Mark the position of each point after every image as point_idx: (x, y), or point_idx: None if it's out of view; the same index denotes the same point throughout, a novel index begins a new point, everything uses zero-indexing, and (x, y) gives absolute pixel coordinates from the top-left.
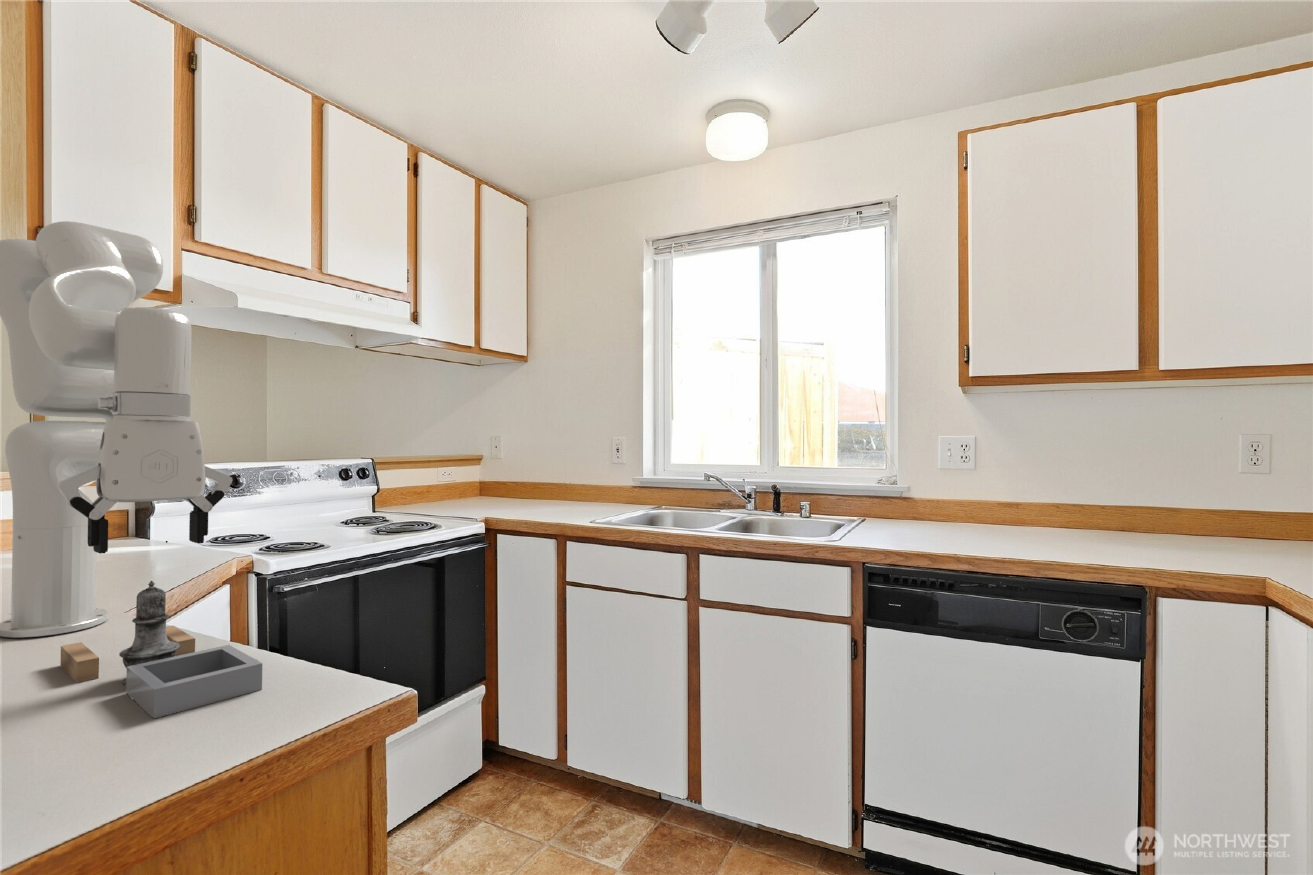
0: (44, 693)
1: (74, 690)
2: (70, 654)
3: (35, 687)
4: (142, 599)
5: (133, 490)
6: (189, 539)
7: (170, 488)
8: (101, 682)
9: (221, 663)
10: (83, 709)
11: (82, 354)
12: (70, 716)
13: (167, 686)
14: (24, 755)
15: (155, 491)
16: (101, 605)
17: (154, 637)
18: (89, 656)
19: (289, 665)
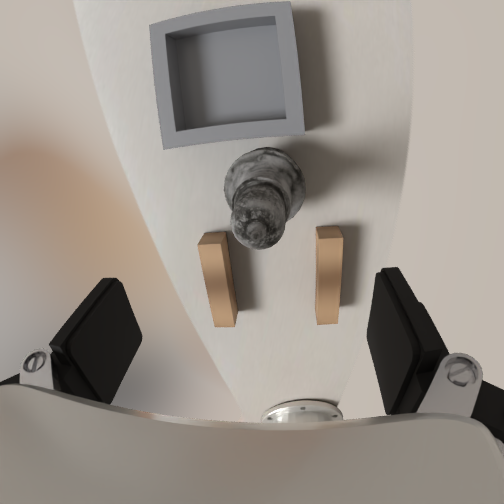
0: (371, 211)
1: (346, 196)
2: (340, 279)
3: (372, 243)
4: (277, 205)
5: (359, 497)
6: (141, 338)
7: (80, 466)
8: (316, 206)
9: (183, 129)
10: (350, 109)
11: None
12: (364, 96)
13: (274, 2)
14: (403, 19)
15: (182, 476)
16: None
17: (261, 173)
18: (326, 252)
19: (114, 109)
